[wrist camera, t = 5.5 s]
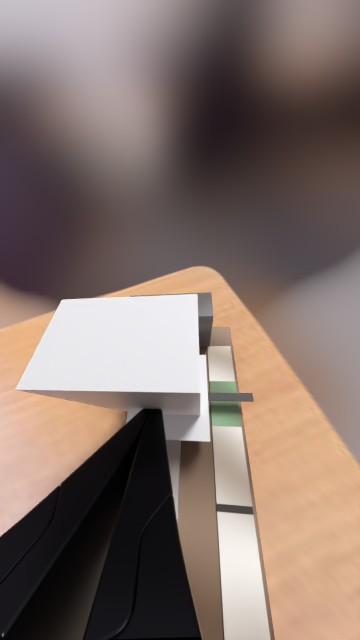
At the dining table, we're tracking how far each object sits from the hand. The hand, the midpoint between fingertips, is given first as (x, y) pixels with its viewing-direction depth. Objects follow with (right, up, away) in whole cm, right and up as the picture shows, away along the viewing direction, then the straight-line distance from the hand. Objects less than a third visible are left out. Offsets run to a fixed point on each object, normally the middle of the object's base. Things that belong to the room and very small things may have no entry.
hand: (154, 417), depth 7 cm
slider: (+2, -1, +5) cm, 6 cm away
